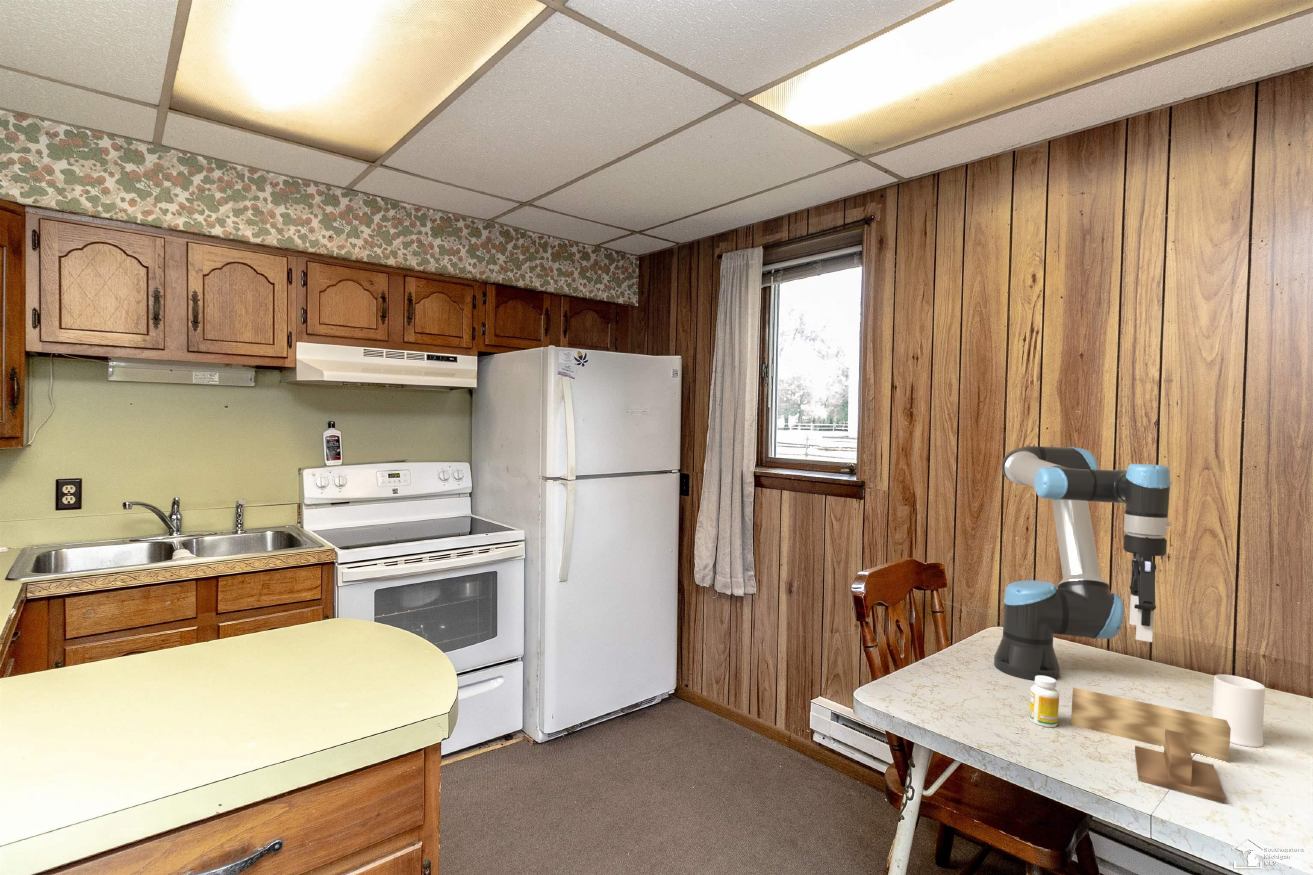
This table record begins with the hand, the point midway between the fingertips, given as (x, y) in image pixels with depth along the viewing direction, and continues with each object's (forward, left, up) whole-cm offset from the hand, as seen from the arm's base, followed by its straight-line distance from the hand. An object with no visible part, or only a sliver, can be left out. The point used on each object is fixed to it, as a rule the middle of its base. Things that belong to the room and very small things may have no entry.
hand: (1140, 632), depth 143 cm
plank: (+1, -7, -21) cm, 22 cm away
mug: (+17, +8, -21) cm, 28 cm away
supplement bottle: (-17, -12, -20) cm, 29 cm away
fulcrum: (+5, -22, -20) cm, 30 cm away
